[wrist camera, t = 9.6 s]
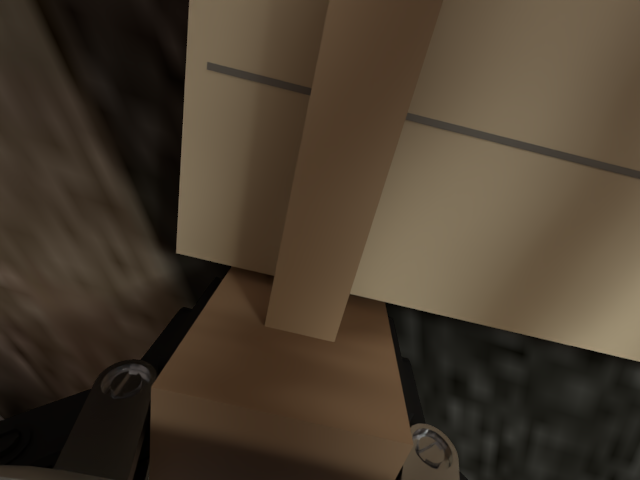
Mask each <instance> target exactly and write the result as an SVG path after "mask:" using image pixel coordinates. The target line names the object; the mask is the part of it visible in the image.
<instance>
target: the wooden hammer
mask: <svg viewBox="0 0 640 480" xmlns="http://www.w3.org/2000/svg"><path fill="white" fill-rule="evenodd" d="M442 3H443V0H329V5H328V10H327V15H326V20H325V25H324V30H323V35H322V40H321V45H320V50H319V55H318V60H317V65H316V70H315V75H314V80H313V85H312V90H311V95H310V100H309V105H308V110H307V115H306V120H305V125H304V130H303V135H302V140H301V145H300V150H299V155H298V160H297V165H296V170H295V175H294V180H293V185H292V190H291V195H290V200H289V205H288V210H287V215H286V220H285V225H284V230H283V235H282V240H281V245H280V250H279V255H278V261H277V266H276V271H275V276H272V275H268V274H263V273H259V272H255V271H250V270H246V269H242V268H238V267H233V266H232V267H231V268H230V270H229V271H228V273H227V274H226V276H225V277H224V279H223V280H222V282H221V283H220V285H219V286H218V288H217V289H216V291H215V292H214V294H213V295H212V297H211V298H210V300H209V301H208V303H207V304H206V306H205V307H204V309H203V310H202V312H201V313H200V315H199V316H198V318H197V319H196V321H195V322H194V324H193V325H192V327H191V328H190V330H189V331H188V333H187V334H186V336H185V337H184V339H183V340H182V342H181V343H180V345H179V346H178V348H177V349H176V351H175V352H174V354H173V355H172V357H171V358H170V360H169V361H168V363H167V364H166V366H165V367H164V369H163V370H162V372H161V373H160V375H159V376H158V378H157V379H156V381H155V382H154V383H153V385H152V386H151V418H150V466H149V480H395V479H396V477H397V475H398V473H399V471H400V470H401V468H402V466H403V464H404V462H405V460H406V458H407V457H408V455H409V453H410V451H411V449H412V447H413V445H414V444H413V440H412V435H411V430H410V425H409V420H408V415H407V410H406V405H405V400H404V395H403V390H402V385H401V380H400V375H399V370H398V365H397V360H396V355H395V350H394V345H393V340H392V335H391V330H390V325H389V320H388V316H387V311H386V306H385V302H383V301H378V300H374V299H370V298H366V297H361V296H357V295H353V294H350V292H351V288H352V285H353V282H354V279H355V276H356V273H357V270H358V266H359V263H360V260H361V257H362V254H363V251H364V248H365V244H366V241H367V238H368V235H369V232H370V229H371V226H372V223H373V219H374V216H375V213H376V210H377V207H378V204H379V201H380V197H381V194H382V191H383V188H384V185H385V182H386V179H387V175H388V172H389V169H390V166H391V163H392V160H393V157H394V154H395V150H396V147H397V144H398V141H399V138H400V135H401V132H402V128H403V125H404V122H405V119H406V116H407V113H408V110H409V106H410V103H411V100H412V97H413V94H414V91H415V88H416V84H417V81H418V78H419V75H420V72H421V69H422V66H423V63H424V59H425V56H426V53H427V50H428V47H429V44H430V41H431V37H432V34H433V31H434V28H435V25H436V22H437V19H438V15H439V12H440V9H441V6H442Z"/></svg>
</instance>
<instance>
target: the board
mask: <svg viewBox="0 0 640 480" xmlns="http://www.w3.org/2000/svg"><path fill="white" fill-rule="evenodd" d="M328 5H329V0H189V16H188V35H187V54H186V73H185V92H184V111H183V130H182V149H181V168H180V187H179V206H178V225H177V244H176V253H178V254H182V255H186V256H191V257H195V258H199V259H204V260H208V261H212V262H216V263H221V264H225V265H229V266H233V267H238V268H242V269H246V270H250V271H255V272H259V273H263V274H268V275H272V276H275V271H276V266H277V261H278V255H279V250H280V245H281V240H282V235H283V230H284V225H285V220H286V215H287V210H288V205H289V200H290V195H291V190H292V185H293V180H294V175H295V170H296V165H297V160H298V155H299V150H300V145H301V140H302V135H303V130H304V125H305V120H306V115H307V110H308V105H309V100H310V95H311V90H312V85H313V80H314V75H315V70H316V65H317V60H318V55H319V50H320V45H321V40H322V35H323V30H324V25H325V20H326V15H327V10H328ZM350 294H353V295H357V296H361V297H366V298H370V299H374V300H378V301H383V302H387V303H391V304H396V305H400V306H404V307H408V308H413V309H417V310H421V311H425V312H430V313H434V314H438V315H442V316H447V317H451V318H455V319H460V320H464V321H468V322H472V323H477V324H481V325H485V326H489V327H494V328H498V329H502V330H507V331H511V332H515V333H519V334H524V335H528V336H532V337H536V338H541V339H545V340H549V341H553V342H558V343H562V344H566V345H571V346H575V347H579V348H583V349H588V350H592V351H596V352H600V353H605V354H609V355H613V356H617V357H622V358H626V359H630V360H635V361H639V362H640V0H443V3H442V6H441V9H440V12H439V15H438V19H437V22H436V25H435V28H434V31H433V34H432V37H431V41H430V44H429V47H428V50H427V53H426V56H425V59H424V63H423V66H422V69H421V72H420V75H419V78H418V81H417V84H416V88H415V91H414V94H413V97H412V100H411V103H410V106H409V110H408V113H407V116H406V119H405V122H404V125H403V128H402V132H401V135H400V138H399V141H398V144H397V147H396V150H395V154H394V157H393V160H392V163H391V166H390V169H389V172H388V175H387V179H386V182H385V185H384V188H383V191H382V194H381V197H380V201H379V204H378V207H377V210H376V213H375V216H374V219H373V223H372V226H371V229H370V232H369V235H368V238H367V241H366V244H365V248H364V251H363V254H362V257H361V260H360V263H359V266H358V270H357V273H356V276H355V279H354V282H353V285H352V288H351V292H350Z"/></svg>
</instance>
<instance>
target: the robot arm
mask: <svg viewBox="0 0 640 480" xmlns="http://www.w3.org/2000/svg"><path fill="white" fill-rule="evenodd" d="M222 280H223V279H222V278H218V277H216V278H215V279H214V280H213V281H212V283H211V284H210V286H209V287H208V288H207V290H206V291H205V292H204V294H203V295H202V297H201V298H200V299H199V301H198V302H197V304H196V305H195V306H194V308H193V309H189V308H185V307H183V308H181V309H180V310H179V311H178V313H177V314H176V315H175V317H174V318H173V319H172V320H171V322H170V323H169V324H168V326H167V327H166V328H165V329H164V331H163V332H162V333H161V335H160V336H159V337H158V338H157V340H156V341H155V342H154V344H153V345H152V346H151V347H150V349H149V350H148V351H147V353H146V354H145V355H144V356H143V358H142V359H141V360H125V361H122V362H118V363H115V364H114V365H112V366H110V367H108V368H107V369H105V370H104V371H103V372H102V373H101V374H100V375H99V376H98V378H97V379H96V381H95V383H94V385H93V387H92V389H89V390H87V391H84V392H81V393H78V394H75V395H72V396H69V397H67V398H64V399H61V400H58V401H55V402H52V403H50V404H47V405H44V406H41V407H38V408H35V409H33V410H30V411H27V412H24V413H21V414H18V415H15V416H13V417H10V418H7V419H4V420H1V421H0V480H148V477H149V466H150V418H151V386H152V385H153V383H154V382H155V381H156V379H157V378H158V376H159V375H160V373H161V372H162V370H163V369H164V367H165V366H166V364H167V363H168V361H169V360H170V358H171V357H172V355H173V354H174V352H175V351H176V349H177V348H178V346H179V345H180V343H181V342H182V340H183V339H184V337H185V336H186V334H187V333H188V331H189V330H190V328H191V327H192V325H193V324H194V322H195V321H196V319H197V318H198V316H199V315H200V313H201V312H202V310H203V309H204V307H205V306H206V304H207V303H208V301H209V300H210V298H211V297H212V295H213V294H214V292H215V291H216V289H217V288H218V286H219V285H220V283H221V282H222ZM388 320H389V325H390V330H391V335H392V340H393V345H394V350H395V355H396V360H397V365H398V370H399V375H400V380H401V385H402V390H403V395H404V400H405V405H406V410H407V415H408V420H409V425H410V430H411V435H412V440H413V444H414V445H413V447H412V449H411V451H410V453H409V455H408V457H407V458H406V460H405V462H404V464H403V466H402V468H401V470H400V471H399V473H398V475H397V477H396V479H395V480H468V479H467V478H466V477H465V476H464V475H463V474H462V473H461V472H460V471H459V460H458V455H457V452H456V450H455V448H454V446H453V444H452V443H451V441H450V440H449V439H448V437H447V436H446V435H444V434H443V433H442V432H441V431H440V430H438V429H436V428H435V427H433V426H430V425H427V424H426V423H425V419H424V415H423V411H422V407H421V403H420V399H419V395H418V391H417V387H416V383H415V379H414V376H413V372H412V368H411V364H410V361H409V360H408V359H407V358H403V357H401V353H400V348H399V344H398V339H397V335H396V330H395V326H394V321H393V319H392V318H389V317H388Z"/></svg>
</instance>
